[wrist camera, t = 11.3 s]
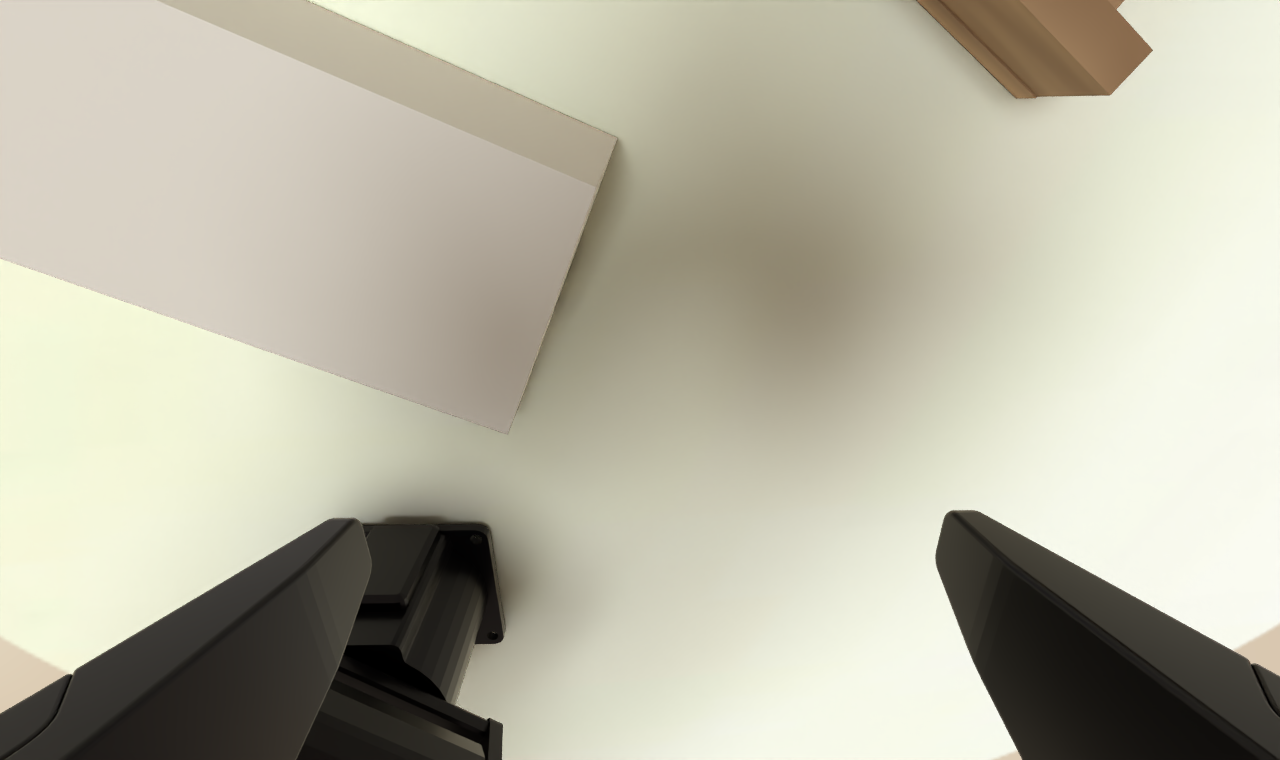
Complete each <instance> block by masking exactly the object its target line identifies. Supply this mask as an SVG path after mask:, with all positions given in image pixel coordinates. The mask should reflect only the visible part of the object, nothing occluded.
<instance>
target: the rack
mask: <svg viewBox="0 0 1280 760" xmlns="http://www.w3.org/2000/svg"><path fill="white" fill-rule="evenodd" d="M917 1H918V2H919V3H920V4H921V5H922V6H923V7H924V8H925V9H926V10H927V11H928V12H929V13H930V14H931V15H932V16H933V17H934V18H935V19H936V20H937V21H938V22H939V23H940V24H941V25H942V26H943V27H944V28H945V29H946V30H947V31H948V32H949V33H950V34H951V35H952V36H953V37H954V38H955V39H956V40H957V41H958V42H959V43H960V44H961V45H962V46H963V47H964V48H965V49H967V50H968V51H969V52H970V53H971V54H972V55H973V56H974V57H975V58H976V59H977V60H978V61H979V62H980V63H981V64H982V65H983V66H984V67H985V68H986V69H987V70H988V71H989V72H990V73H991V74H992V75H993V76H994V77H995V78H996V79H997V80H998V81H999V82H1000V83H1001V84H1002V85H1003V86H1004V87H1005V88H1006V89H1007V90H1008V91H1009V92H1010V93H1011V94H1012V95H1013V96H1014V97H1015V98H1036V97H1044V96H1097V95H1111V94H1112V93H1113V92H1114V91H1115V90H1116V89H1117V88H1118V86H1119V85H1120V84H1121V83H1122V82H1123V81H1124V80H1125V79H1126V78H1127V77H1128V76H1129V75H1130V74H1131V73H1132V72H1133V71H1134V70H1135V69H1136V68H1137V67H1138V65H1139V64H1140V63H1141V62H1142V61H1143V60H1144V59H1145V58H1146V57H1147V56H1148V55H1149V54H1150V53H1151V52H1152V51H1153V50H1152V49H1151V48H1150V46H1149V45H1148V44H1147V43H1146V42H1145V41H1144V40H1143V39H1142V38H1141V36H1140V35H1139V34H1138V33H1137V32H1136V31H1135V30H1134V29H1133V28H1132V27H1131V25H1130V24H1129V23H1128V22H1127V21H1126V20H1125V19H1124V18H1123V17H1122V15H1121V14H1120V13H1119V12H1118V11H1117V10H1116V9H1117V8H1118V7H1119V6H1120V5H1121V4H1122V2H1123V1H1124V0H917Z"/></svg>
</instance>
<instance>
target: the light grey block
mask: <svg viewBox="0 0 1280 760" xmlns="http://www.w3.org/2000/svg"><path fill="white" fill-rule="evenodd" d="M616 141H617V138H616V137H614V136H612V135H610V134H607V133H605V132H603V131H601V130H598V129H596V128H594V127H592V126H589V125H587V124H585V123H583V122H580V121H578V120H576V119H574V118H571V117H569V116H567V115H564V114H562V113H560V112H558V111H555V110H553V109H551V108H549V107H546V106H544V105H542V104H540V103H537V102H535V101H533V100H531V99H528V98H526V97H524V96H522V95H519V94H517V93H515V92H512V91H510V90H508V89H506V88H503V87H501V86H499V85H497V84H494V83H492V82H490V81H488V80H485V79H483V78H481V77H479V76H476V75H474V74H472V73H470V72H467V71H465V70H463V69H460V68H458V67H456V66H454V65H451V64H449V63H447V62H445V61H442V60H440V59H438V58H436V57H433V56H431V55H429V54H426V53H424V52H422V51H420V50H417V49H415V48H413V47H411V46H408V45H406V44H404V43H402V42H399V41H397V40H395V39H392V38H390V37H388V36H386V35H383V34H381V33H379V32H377V31H374V30H372V29H370V28H367V27H365V26H363V25H361V24H358V23H356V22H354V21H352V20H349V19H347V18H345V17H342V16H340V15H338V14H336V13H333V12H331V11H329V10H327V9H324V8H322V7H320V6H318V5H315V4H313V3H311V2H308V1H306V0H0V258H1V259H3V260H6V261H9V262H12V263H15V264H18V265H21V266H24V267H27V268H29V269H32V270H35V271H38V272H41V273H44V274H47V275H50V276H52V277H55V278H58V279H61V280H64V281H67V282H70V283H73V284H75V285H78V286H81V287H84V288H87V289H90V290H93V291H96V292H99V293H101V294H104V295H107V296H110V297H113V298H116V299H119V300H122V301H124V302H127V303H130V304H133V305H136V306H139V307H142V308H145V309H147V310H150V311H153V312H156V313H159V314H162V315H165V316H168V317H171V318H173V319H176V320H179V321H182V322H185V323H188V324H191V325H194V326H196V327H199V328H202V329H205V330H208V331H211V332H214V333H217V334H219V335H222V336H225V337H228V338H231V339H234V340H237V341H240V342H243V343H245V344H248V345H251V346H254V347H257V348H260V349H263V350H266V351H268V352H271V353H274V354H277V355H280V356H283V357H286V358H289V359H291V360H294V361H297V362H300V363H303V364H306V365H309V366H312V367H315V368H317V369H320V370H323V371H326V372H329V373H332V374H335V375H338V376H340V377H343V378H346V379H349V380H352V381H355V382H358V383H361V384H363V385H366V386H369V387H372V388H375V389H378V390H381V391H384V392H387V393H389V394H392V395H395V396H398V397H401V398H404V399H407V400H410V401H412V402H415V403H418V404H421V405H424V406H427V407H430V408H433V409H435V410H438V411H441V412H444V413H447V414H450V415H453V416H456V417H459V418H461V419H464V420H467V421H470V422H473V423H476V424H479V425H482V426H484V427H487V428H490V429H493V430H496V431H499V432H502V433H505V434H507V435H508V432H509V430H510V427H511V425H512V422H513V420H514V417H515V414H516V412H517V409H518V407H519V404H520V402H521V399H522V396H523V394H524V391H525V388H526V386H527V383H528V380H529V377H530V375H531V372H532V369H533V366H534V364H535V361H536V358H537V356H538V353H539V350H540V348H541V345H542V342H543V339H544V337H545V334H546V331H547V329H548V326H549V323H550V320H551V318H552V315H553V312H554V310H555V306H556V303H557V300H558V298H559V295H560V293H561V290H562V288H563V285H564V282H565V279H566V277H567V274H568V271H569V268H570V265H571V263H572V260H573V257H574V255H575V252H576V249H577V247H578V244H579V241H580V239H581V236H582V233H583V230H584V228H585V225H586V222H587V220H588V217H589V214H590V212H591V209H592V206H593V203H594V201H595V198H596V195H597V193H598V190H599V187H600V184H601V182H602V179H603V176H604V174H605V171H606V168H607V165H608V163H609V160H610V157H611V155H612V152H613V149H614V146H615V144H616Z"/></svg>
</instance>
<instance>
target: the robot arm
mask: <svg viewBox="0 0 1280 760" xmlns="http://www.w3.org/2000/svg"><path fill="white" fill-rule="evenodd" d="M473 535H479V536H480V537H481V538H476V537H474V536H473ZM936 566H937V569H938V572H939V575H940V577H941V580H942V583H943V585H944V588H945V590H946V593H947V596H948V598H949V601H950V604H951V606H952V609H953V611H954V614H955V617H956V619H957V622H958V625H959V627H960V630H961V632H962V635H963V638H964V640H965V643H966V645H967V648H968V650H969V653H970V655H971V658H972V660H973V662H974V664H975V667H976V669H977V671H978V673H979V675H980V677H981V679H982V681H983V683H984V685H985V687H986V689H987V691H988V693H989V695H990V697H991V699H992V701H993V703H994V705H995V707H996V709H997V711H998V713H999V715H1000V716H1001V718H1002V720H1003V722H1004V724H1005V726H1006V728H1007V730H1008V732H1009V734H1010V736H1011V738H1012V740H1013V742H1014V744H1015V746H1016V748H1017V750H1018V752H1019V754H1020V756H1021V758H1022V760H1280V676H1278V675H1276V674H1275V673H1273V672H1271V671H1269V670H1267V669H1266V668H1264V667H1262V666H1260V665H1258V664H1255V663H1254V664H1251V663H1250V662H1249V660H1248V659H1247V658H1245V657H1243V656H1242V655H1240V654H1238V653H1236V652H1234V651H1233V650H1231V649H1229V648H1227V647H1225V646H1223V645H1222V644H1220V643H1218V642H1216V641H1214V640H1212V639H1211V638H1209V637H1207V636H1205V635H1203V634H1201V633H1200V632H1198V631H1196V630H1194V629H1192V628H1191V627H1189V626H1187V625H1185V624H1183V623H1181V622H1180V621H1178V620H1176V619H1174V618H1172V617H1170V616H1169V615H1167V614H1165V613H1163V612H1161V611H1159V610H1158V609H1156V608H1154V607H1152V606H1150V605H1149V604H1147V603H1145V602H1143V601H1141V600H1139V599H1138V598H1136V597H1134V596H1132V595H1130V594H1128V593H1127V592H1125V591H1123V590H1121V589H1119V588H1117V587H1116V586H1114V585H1112V584H1110V583H1108V582H1107V581H1105V580H1103V579H1101V578H1099V577H1097V576H1096V575H1094V574H1092V573H1090V572H1088V571H1086V570H1085V569H1083V568H1081V567H1079V566H1077V565H1075V564H1074V563H1072V562H1070V561H1068V560H1066V559H1064V558H1063V557H1061V556H1059V555H1057V554H1055V553H1054V552H1052V551H1050V550H1048V549H1046V548H1044V547H1043V546H1041V545H1039V544H1037V543H1035V542H1033V541H1032V540H1030V539H1028V538H1026V537H1024V536H1023V535H1021V534H1019V533H1017V532H1015V531H1013V530H1012V529H1010V528H1008V527H1006V526H1004V525H1002V524H1001V523H999V522H997V521H995V520H993V519H991V518H990V517H988V516H986V515H984V514H982V513H981V512H978V511H975V510H953V511H950V512H948V513H947V514H946V515H945V517H944V520H943V524H942V528H941V532H940V537H939V541H938V545H937V549H936ZM493 632H495V633H493ZM504 634H505V623H504V616H503V610H502V604H501V597H500V591H499V585H498V578H497V572H496V566H495V559H494V553H493V546H492V540H491V534H490V531H489V529H488V528H487V527H486V526H483V525H481V524H439V525H367V526H362V524H361V522H360V521H359V520H358V519H356V518H332V519H329V520H327V521H325V522H323V523H322V524H320V525H318V526H317V527H315V528H313V529H312V530H310V531H308V532H307V533H305V534H303V535H301V536H300V537H298V538H296V539H295V540H293V541H291V542H290V543H288V544H286V545H285V546H283V547H281V548H280V549H278V550H276V551H274V552H273V553H271V554H269V555H268V556H266V557H264V558H263V559H261V560H259V561H258V562H256V563H254V564H253V565H251V566H249V567H248V568H246V569H244V570H242V571H241V572H239V573H237V574H236V575H234V576H232V577H231V578H229V579H227V580H226V581H224V582H222V583H221V584H219V585H217V586H215V587H214V588H212V589H210V590H209V591H207V592H205V593H204V594H202V595H200V596H199V597H197V598H195V599H194V600H192V601H190V602H188V603H187V604H185V605H183V606H182V607H180V608H178V609H177V610H175V611H173V612H172V613H170V614H168V615H167V616H165V617H163V618H161V619H160V620H158V621H156V622H155V623H153V624H151V625H150V626H148V627H146V628H145V629H143V630H141V631H140V632H138V633H136V634H135V635H133V636H131V637H129V638H128V639H126V640H124V641H123V642H121V643H119V644H118V645H116V646H114V647H113V648H111V649H109V650H108V651H106V652H104V653H102V654H101V655H99V656H97V657H96V658H94V659H92V660H91V661H89V662H87V663H86V664H84V665H82V666H81V667H79V668H77V669H76V670H75V671H74V673H73V675H72V674H67V675H65V676H63V677H62V678H60V679H59V680H57V681H55V682H53V683H52V684H50V685H48V686H47V687H45V688H43V689H42V690H40V691H38V692H37V693H35V694H33V695H32V696H30V697H28V698H26V699H25V700H23V701H21V702H19V703H18V704H16V705H14V706H13V707H11V708H9V709H7V710H6V711H4V712H2V713H1V714H0V760H502V734H503V724H502V723H499V722H497V721H495V720H493V719H491V718H489V719H487V720H486V719H484V718H482V717H480V716H477V715H475V714H473V713H471V712H469V711H466V710H464V709H462V708H460V707H458V706H456V701H457V698H458V695H459V692H460V689H461V685H462V682H463V679H464V676H465V673H466V669H467V666H468V663H469V660H470V657H471V653H472V650H473V647H474V644H496V643H499V642H501V641H502V640H503V638H504Z"/></svg>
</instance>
